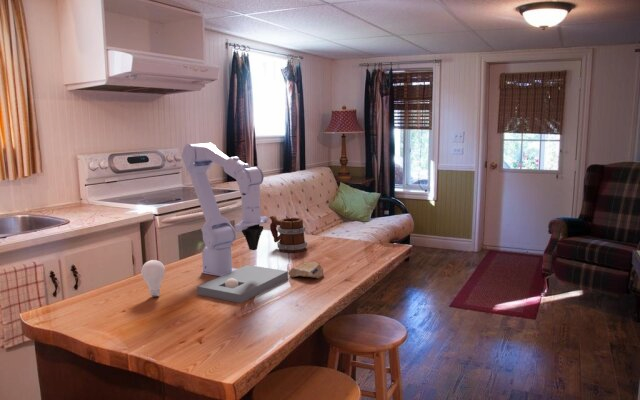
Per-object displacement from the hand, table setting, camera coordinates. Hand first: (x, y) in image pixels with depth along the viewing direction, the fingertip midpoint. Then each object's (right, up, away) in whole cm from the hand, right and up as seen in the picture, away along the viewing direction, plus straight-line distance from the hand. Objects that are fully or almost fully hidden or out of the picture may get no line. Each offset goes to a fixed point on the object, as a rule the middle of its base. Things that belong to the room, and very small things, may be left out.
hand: (253, 249), depth 159 cm
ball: (-5, -10, -7) cm, 13 cm away
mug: (+8, -4, +40) cm, 41 cm away
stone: (+16, -10, +6) cm, 20 cm away
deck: (-2, -11, -3) cm, 12 cm away
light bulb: (-27, -13, -10) cm, 32 cm away
